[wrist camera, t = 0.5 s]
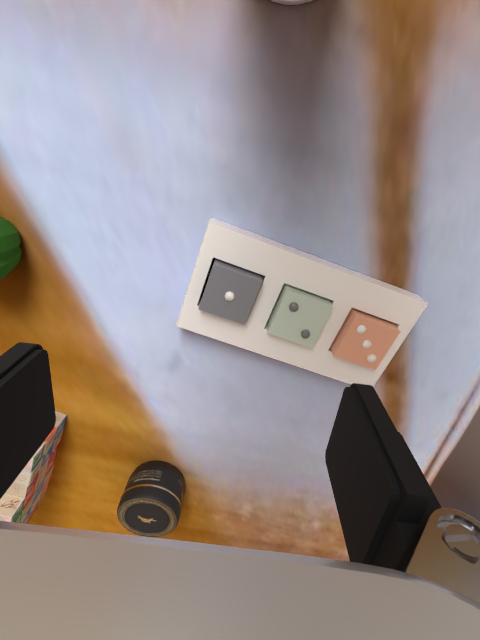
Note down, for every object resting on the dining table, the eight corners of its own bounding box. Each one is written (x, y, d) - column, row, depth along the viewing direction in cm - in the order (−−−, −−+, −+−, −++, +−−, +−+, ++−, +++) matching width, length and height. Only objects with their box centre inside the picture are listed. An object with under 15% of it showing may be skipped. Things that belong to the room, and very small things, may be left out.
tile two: (284, 282, 43) (286, 291, 40) (328, 298, 43) (333, 308, 41) (266, 323, 45) (267, 333, 42) (308, 337, 46) (311, 349, 43)
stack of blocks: (29, 400, 55) (-28, 462, 44) (68, 413, 56) (22, 477, 45) (12, 484, 63) (-39, 554, 52) (46, 494, 64) (2, 565, 53)
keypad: (211, 217, 41) (208, 221, 39) (417, 294, 44) (428, 303, 42) (180, 316, 47) (176, 325, 44) (364, 378, 50) (370, 391, 48)
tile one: (215, 257, 42) (213, 264, 39) (262, 274, 42) (262, 282, 40) (201, 300, 44) (197, 310, 41) (245, 315, 45) (244, 326, 42)
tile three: (350, 306, 44) (356, 316, 41) (392, 321, 44) (401, 332, 42) (329, 345, 46) (333, 356, 43) (369, 358, 47) (376, 371, 44)
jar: (192, 495, 63) (184, 537, 56) (139, 498, 64) (125, 540, 57) (180, 455, 59) (170, 495, 52) (124, 459, 59) (107, 499, 53)
